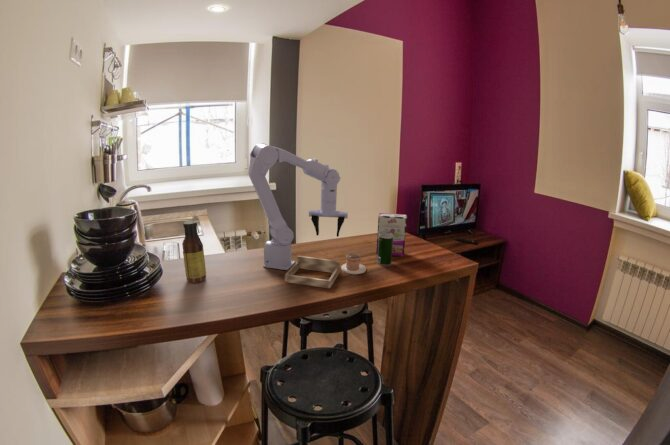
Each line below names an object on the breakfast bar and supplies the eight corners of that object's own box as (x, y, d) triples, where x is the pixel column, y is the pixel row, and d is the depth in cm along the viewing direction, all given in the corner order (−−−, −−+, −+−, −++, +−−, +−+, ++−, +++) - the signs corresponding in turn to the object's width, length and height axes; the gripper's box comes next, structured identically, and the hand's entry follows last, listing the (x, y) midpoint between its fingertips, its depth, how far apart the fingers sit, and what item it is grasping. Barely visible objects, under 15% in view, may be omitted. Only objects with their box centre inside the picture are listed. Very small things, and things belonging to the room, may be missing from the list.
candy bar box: (403, 252, 152) (407, 214, 147) (403, 257, 147) (407, 217, 142) (376, 250, 153) (379, 212, 148) (375, 254, 149) (378, 215, 144)
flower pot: (343, 269, 132) (344, 257, 131) (348, 264, 137) (348, 252, 135) (357, 272, 130) (358, 259, 129) (361, 266, 135) (362, 254, 134)
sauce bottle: (210, 278, 123) (206, 221, 117) (196, 285, 118) (191, 226, 112) (195, 274, 126) (191, 218, 120) (181, 281, 120) (175, 223, 115)
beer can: (383, 267, 136) (385, 236, 133) (374, 262, 141) (376, 232, 137) (394, 264, 139) (396, 234, 136) (384, 259, 144) (387, 230, 140)
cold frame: (284, 281, 122) (284, 269, 121) (297, 267, 134) (297, 255, 133) (329, 288, 119) (330, 275, 118) (339, 272, 131) (339, 261, 129)
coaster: (338, 272, 131) (338, 270, 131) (344, 262, 139) (344, 261, 139) (363, 275, 129) (363, 274, 129) (367, 266, 137) (367, 264, 137)
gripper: (307, 202, 133) (307, 237, 137) (347, 204, 132) (346, 239, 136) (310, 197, 140) (309, 231, 144) (348, 199, 139) (346, 233, 143)
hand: (327, 235), depth 140 cm, fingers open, 7 cm apart
